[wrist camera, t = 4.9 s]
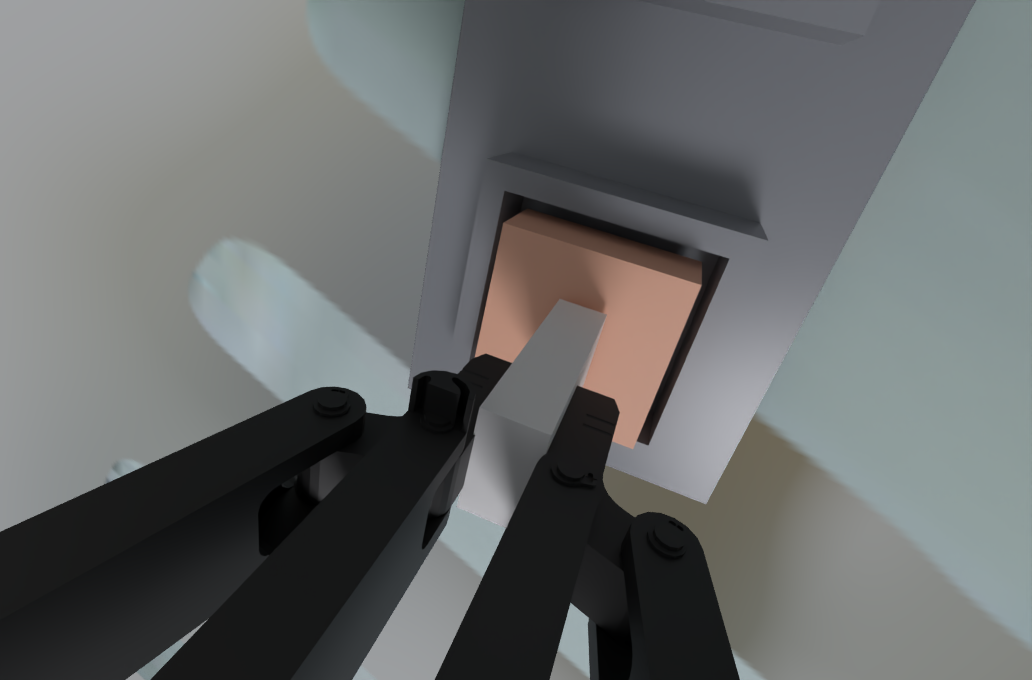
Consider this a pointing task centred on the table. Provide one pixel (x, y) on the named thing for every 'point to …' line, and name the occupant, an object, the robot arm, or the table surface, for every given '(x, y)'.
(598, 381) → the terracotta key
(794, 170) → the key panel
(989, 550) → the table surface
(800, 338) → the table surface
